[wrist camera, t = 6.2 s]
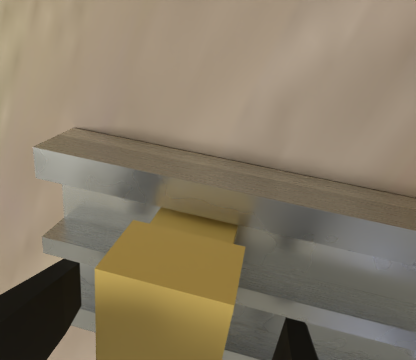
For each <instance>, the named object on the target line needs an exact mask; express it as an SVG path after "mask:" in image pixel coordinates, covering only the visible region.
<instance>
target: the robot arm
mask: <svg viewBox="0 0 416 360" xmlns="http://www.w3.org/2000/svg"><path fill="white" fill-rule="evenodd" d="M81 306H82V303H81V280H80V263H79V262H75V261H71V260H67V259H62V260H61V261H59V262H57V263H55V264H53V265H52V266H50V267H48V268H47V269H45V270H43V271H41V272H40V273H38V274H36V275H35V276H33V277H31V278H29V279H28V280H26V281H24V282H22V283H21V284H19V285H17V286H15V287H13V288H12V289H10V290H8V291H6V292H5V293H3V294H1V295H0V360H47V358H48V357H49V356H50V354H51V353H52V352H53V350H54V349H55V347H56V346H57V345H58V343H59V342H60V341H61V339H62V338H63V336H64V335H65V334H66V332H67V330H68V329H69V327H70V325H71V324H72V322H73V320H74V318H75V317H76V315H77V313H78V311H79V309H80V308H81ZM272 360H319V359H318V356H317V353H316V350H315V348H314V345H313V342H312V339H311V336H310V333H309V330H308V326H307V325H306V323H305V322H302V321H298V320H295V319H291V318H287V317H286V318H285V321H284V324H283V327H282V330H281V333H280V336H279V339H278V342H277V345H276V348H275V351H274V354H273V357H272Z"/></svg>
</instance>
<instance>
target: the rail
mask: <svg viewBox="0 0 416 360" xmlns="http://www.w3.org/2000/svg"><path fill="white" fill-rule="evenodd" d="M33 154H34V164H35V174H36V178H38V179H42V180H46V181H51V182H55V183H59V184H62V190H63V206H64V218H63V219H62V220H61V221H60V222H59V223H57V224H56V225H55V226H54V227H53V228H52V229H50V230H49V231H48V232H47V233H46V234H45V235H43V236H42V243H43V253H46V254H50V255H53V256H57V257H61V258H65V259H67V260H71V261H75V262H79V263H80V280H81V303H82V306H81V308H80V309H79V311H78V313H77V315H76V317H75V318H74V320H73V322H72V324H71V325H72V326H75V327H78V328H82V329H85V330H89V331H92V332H96V322H95V267H96V266H97V265H98V264H99V262H100V261H101V260H102V259H103V257H104V256H105V255H106V254H107V252H108V251H109V250H110V248H111V247H112V246H113V245H114V243H115V242H116V241H117V240H118V238H119V237H120V236H121V235H122V233H123V232H124V231H125V230H126V228H127V227H128V226H129V225H130V223H131V222H132V221H133V220H136V221H140V222H145V223H149V224H150V222H151V221H152V219H153V218H154V217H155V215H156V214H157V212H158V211H159V209H160V208H161V207H163V208H167V209H171V210H176V211H180V212H184V213H189V214H193V215H197V216H202V217H206V218H210V219H214V220H219V221H223V222H227V223H232V224H236V225H238V228H237V233H236V238H235V242H234V244H236V245H240V246H244V247H245V252H244V258H243V263H242V268H241V274H240V279H239V284H238V290H237V295H236V300H235V306H234V310H233V314H232V319H231V323H230V327H229V332H228V336H227V340H226V344H225V349H224V353H223V357H222V360H272V357H273V354H274V351H275V348H276V345H277V342H278V339H279V336H280V333H281V330H282V327H283V324H284V321H285V318H286V317H287V318H291V319H295V320H298V321H302V322H305V323H306V325H307V326H308V330H309V333H310V336H311V339H312V342H313V345H314V348H315V350H316V353H317V356H318V359H319V360H416V198H411V197H406V196H401V195H397V194H392V193H387V192H382V191H377V190H372V189H368V188H363V187H358V186H353V185H348V184H343V183H339V182H334V181H329V180H324V179H319V178H314V177H310V176H305V175H300V174H295V173H290V172H285V171H281V170H276V169H271V168H266V167H261V166H256V165H252V164H247V163H242V162H237V161H232V160H227V159H223V158H218V157H213V156H208V155H203V154H198V153H194V152H189V151H184V150H179V149H174V148H169V147H165V146H160V145H155V144H150V143H145V142H140V141H136V140H131V139H126V138H121V137H116V136H111V135H107V134H102V133H97V132H92V131H87V130H82V129H78V128H72V129H70V130H68V131H66V132H63V133H61V134H59V135H57V136H55V137H53V138H51V139H49V140H47V141H45V142H42V143H40V144H38V145H36V146H34V147H33Z"/></svg>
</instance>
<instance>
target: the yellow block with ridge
mask: <svg viewBox="0 0 416 360" xmlns="http://www.w3.org/2000/svg"><path fill="white" fill-rule="evenodd" d="M237 228H238V225H236V224H232V223H227V222H223V221H219V220H214V219H210V218H206V217H202V216H197V215H193V214H189V213H184V212H180V211H176V210H171V209H167V208H163V207H161V208H160V209H159V211H158V212H157V214H156V215H155V217H154V218H153V219H152V221H151V222H150V224H149V223H145V222H140V221H136V220H133V221H132V222H131V223H130V225H129V226H128V227H127V228H126V230H125V231H124V232H123V233H122V235H121V236H120V237H119V238H118V240H117V241H116V242H115V243H114V245H113V246H112V247H111V248H110V250H109V251H108V252H107V254H106V255H105V256H104V257H103V259H102V260H101V261H100V262H99V264H98V265H97V266H96V267H95V322H96V360H222V357H223V353H224V349H225V344H226V340H227V336H228V332H229V327H230V323H231V319H232V314H233V310H234V306H235V300H236V295H237V290H238V284H239V279H240V274H241V268H242V263H243V258H244V252H245V247H244V246H240V245H236V244H234V242H235V238H236V233H237Z"/></svg>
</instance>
